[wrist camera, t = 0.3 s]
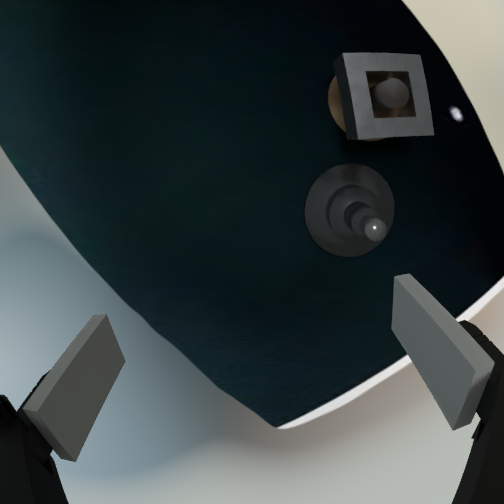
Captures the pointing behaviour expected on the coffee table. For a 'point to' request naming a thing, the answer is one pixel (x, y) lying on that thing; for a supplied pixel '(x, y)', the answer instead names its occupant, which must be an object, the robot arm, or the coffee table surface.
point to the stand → (373, 99)
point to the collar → (359, 102)
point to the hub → (349, 210)
